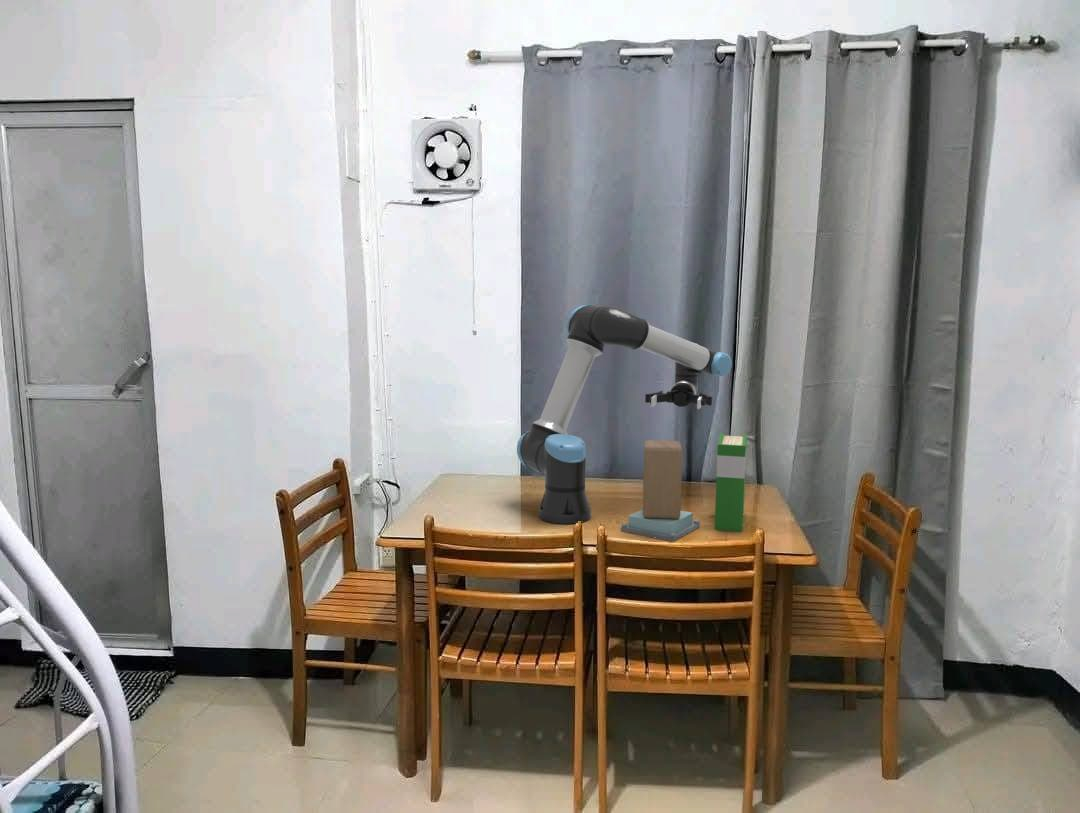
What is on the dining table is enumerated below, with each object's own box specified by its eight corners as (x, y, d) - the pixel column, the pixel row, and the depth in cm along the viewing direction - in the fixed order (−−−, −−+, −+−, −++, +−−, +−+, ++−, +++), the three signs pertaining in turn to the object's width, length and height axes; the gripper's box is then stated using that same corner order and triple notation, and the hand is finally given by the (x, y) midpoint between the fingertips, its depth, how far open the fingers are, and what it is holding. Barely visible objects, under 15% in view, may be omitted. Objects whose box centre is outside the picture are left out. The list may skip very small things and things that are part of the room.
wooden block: (678, 509, 225) (680, 440, 222) (680, 520, 215) (682, 447, 212) (642, 508, 226) (644, 439, 223) (643, 518, 216) (644, 446, 213)
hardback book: (717, 511, 238) (720, 432, 234) (743, 513, 236) (746, 434, 232) (714, 529, 221) (717, 444, 217) (742, 531, 219) (745, 446, 215)
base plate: (621, 530, 219) (621, 516, 219) (648, 517, 232) (649, 503, 231) (673, 542, 210) (674, 526, 209) (699, 527, 223) (700, 512, 222)
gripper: (722, 406, 254) (717, 417, 234) (644, 403, 261) (633, 413, 241) (722, 383, 253) (718, 392, 233) (644, 380, 260) (633, 389, 240)
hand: (675, 403), depth 237 cm, fingers open, 13 cm apart
